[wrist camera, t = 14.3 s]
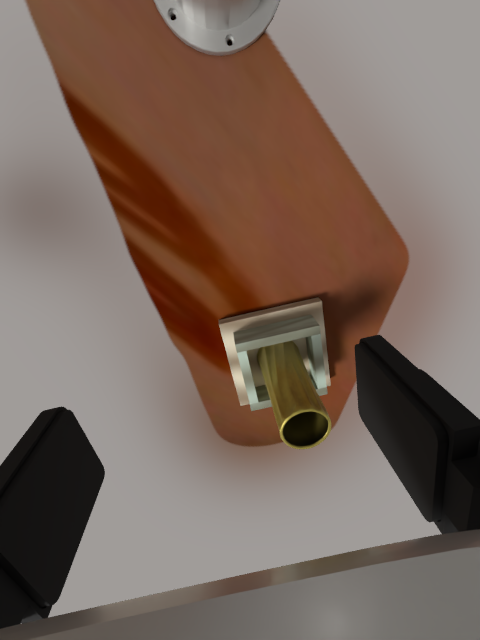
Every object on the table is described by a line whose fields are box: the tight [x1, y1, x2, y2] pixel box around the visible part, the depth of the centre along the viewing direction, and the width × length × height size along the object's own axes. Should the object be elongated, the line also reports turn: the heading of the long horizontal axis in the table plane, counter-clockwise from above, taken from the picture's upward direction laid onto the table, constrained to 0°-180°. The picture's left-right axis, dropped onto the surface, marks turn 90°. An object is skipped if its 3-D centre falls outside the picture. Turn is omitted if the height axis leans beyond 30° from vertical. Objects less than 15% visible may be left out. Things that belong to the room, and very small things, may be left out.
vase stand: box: [219, 297, 331, 411], centre depth 42 cm, size 14×14×5 cm
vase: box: [257, 340, 331, 449], centre depth 36 cm, size 6×6×14 cm
